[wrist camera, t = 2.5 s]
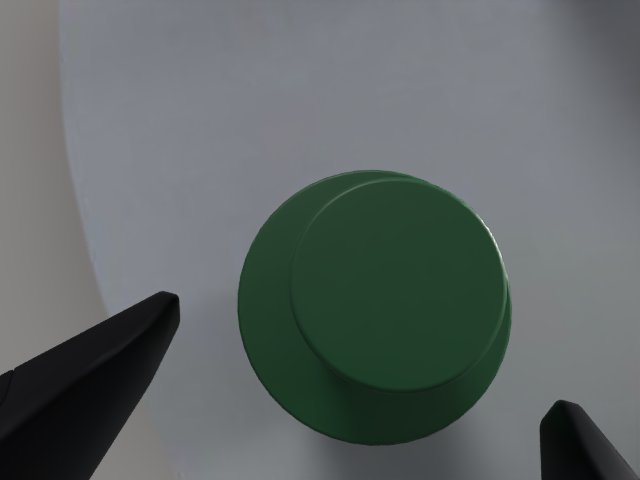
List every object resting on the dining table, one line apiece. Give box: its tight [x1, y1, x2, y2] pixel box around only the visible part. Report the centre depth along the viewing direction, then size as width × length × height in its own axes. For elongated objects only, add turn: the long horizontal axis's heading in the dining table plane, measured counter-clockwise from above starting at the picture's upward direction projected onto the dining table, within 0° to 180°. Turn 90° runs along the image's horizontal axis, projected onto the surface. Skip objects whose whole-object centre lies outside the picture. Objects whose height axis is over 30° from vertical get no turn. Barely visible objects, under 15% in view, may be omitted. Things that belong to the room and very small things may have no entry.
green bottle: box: [238, 170, 512, 446], centre depth 12 cm, size 6×6×14 cm
